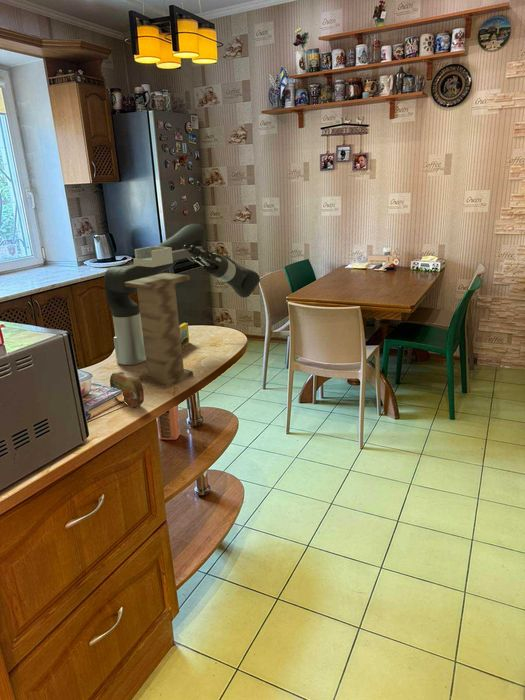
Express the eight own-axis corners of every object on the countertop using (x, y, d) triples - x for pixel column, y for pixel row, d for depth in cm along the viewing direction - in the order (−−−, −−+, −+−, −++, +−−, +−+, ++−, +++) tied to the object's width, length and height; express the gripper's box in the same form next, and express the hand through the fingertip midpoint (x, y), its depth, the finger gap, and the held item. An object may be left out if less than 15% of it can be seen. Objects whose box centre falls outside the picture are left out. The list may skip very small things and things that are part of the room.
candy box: (169, 357, 177) (167, 335, 174) (164, 357, 177) (161, 335, 174) (190, 343, 191) (188, 322, 188) (185, 342, 192) (183, 322, 189)
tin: (111, 396, 146) (106, 370, 143) (120, 393, 148) (116, 367, 146) (137, 411, 136) (133, 383, 133) (147, 407, 138) (144, 380, 135)
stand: (163, 389, 149) (150, 285, 138) (137, 381, 156) (123, 282, 145) (199, 372, 161) (190, 275, 150) (173, 365, 168) (163, 272, 157)
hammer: (152, 267, 140) (150, 251, 139) (134, 265, 145) (132, 249, 143) (209, 255, 158) (208, 240, 157) (191, 253, 163) (190, 239, 162)
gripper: (232, 279, 165) (200, 260, 151) (202, 276, 173) (168, 258, 159) (238, 258, 166) (206, 237, 152) (208, 256, 174) (174, 236, 160)
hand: (187, 248), depth 156 cm, fingers closed on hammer, 2 cm apart
